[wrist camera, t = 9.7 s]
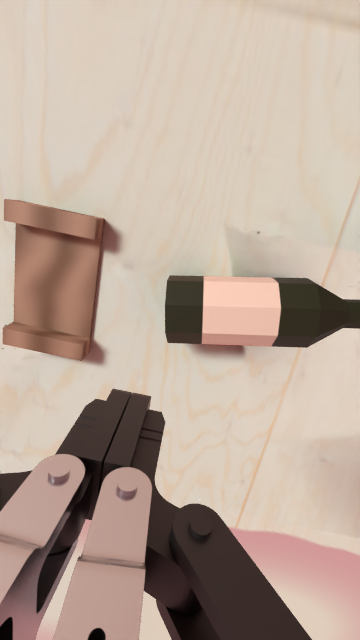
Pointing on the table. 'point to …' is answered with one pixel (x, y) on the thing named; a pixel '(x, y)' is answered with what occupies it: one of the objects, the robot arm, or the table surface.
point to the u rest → (53, 279)
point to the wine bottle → (254, 311)
